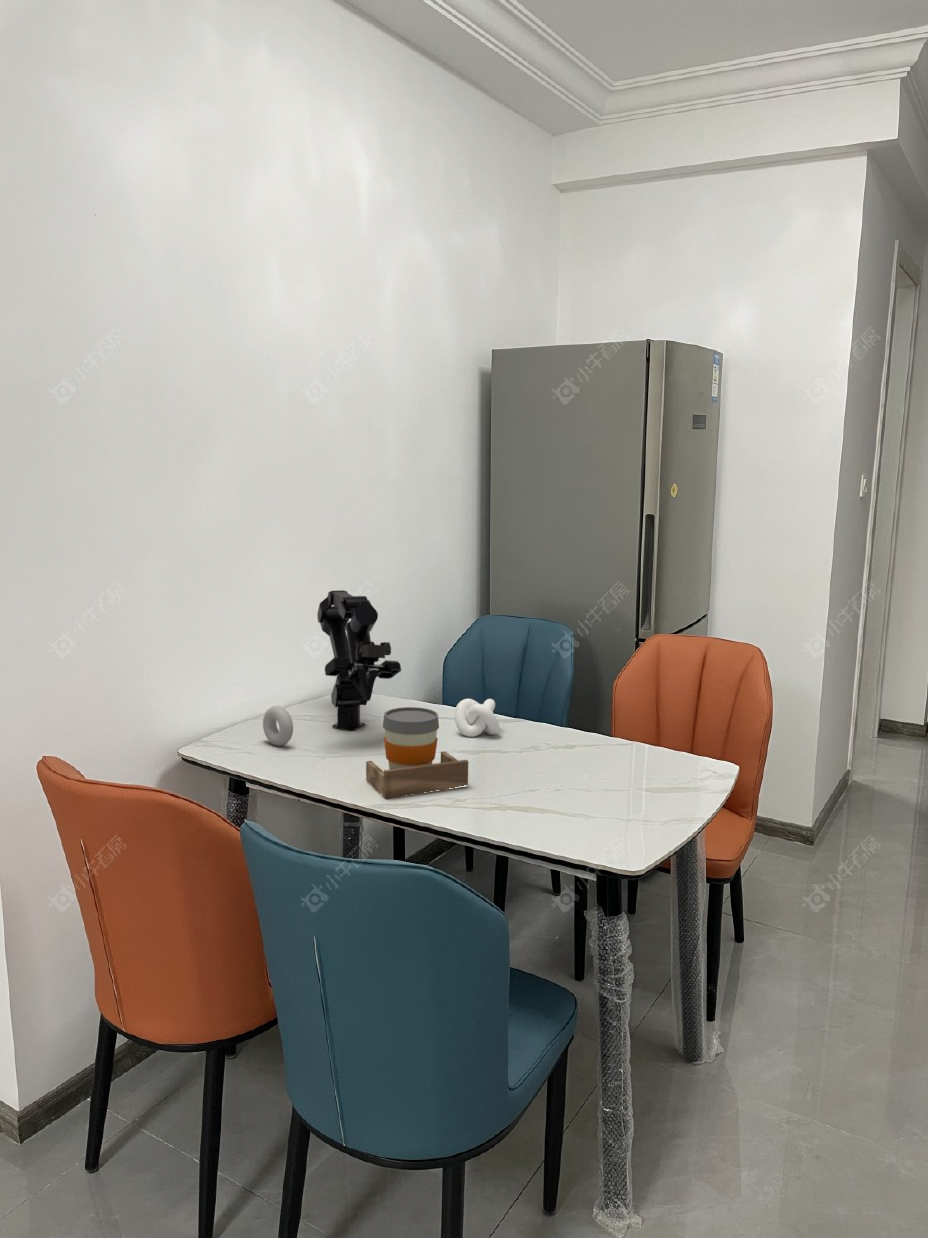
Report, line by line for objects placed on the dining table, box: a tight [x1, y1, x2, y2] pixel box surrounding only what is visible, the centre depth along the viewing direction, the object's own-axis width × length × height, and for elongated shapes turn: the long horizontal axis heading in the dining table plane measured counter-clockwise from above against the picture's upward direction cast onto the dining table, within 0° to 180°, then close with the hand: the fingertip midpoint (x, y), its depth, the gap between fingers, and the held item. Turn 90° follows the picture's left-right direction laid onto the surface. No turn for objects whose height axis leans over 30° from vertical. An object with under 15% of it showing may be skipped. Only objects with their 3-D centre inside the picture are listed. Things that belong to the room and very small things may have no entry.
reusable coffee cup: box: [382, 706, 440, 770], centre depth 212 cm, size 13×13×15 cm
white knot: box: [454, 698, 500, 738], centre depth 247 cm, size 11×12×9 cm
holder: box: [365, 751, 469, 800], centre depth 209 cm, size 12×19×6 cm, turn 115°
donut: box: [262, 705, 294, 747], centre depth 233 cm, size 10×4×10 cm, turn 49°
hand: (368, 700), depth 230 cm, fingers closed
